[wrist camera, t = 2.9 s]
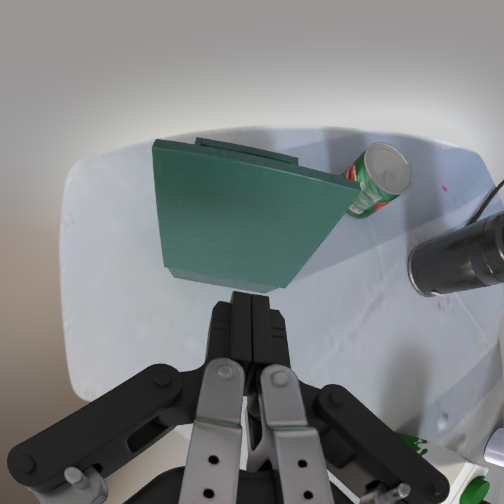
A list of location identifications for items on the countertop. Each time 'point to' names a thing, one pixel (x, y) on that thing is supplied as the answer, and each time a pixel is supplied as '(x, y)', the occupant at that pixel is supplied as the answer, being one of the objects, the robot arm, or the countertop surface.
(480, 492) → the milk carton
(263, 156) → the case
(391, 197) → the canned tomato
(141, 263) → the countertop surface
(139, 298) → the countertop surface
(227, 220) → the case lid
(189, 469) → the robot arm
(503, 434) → the spray bottle
